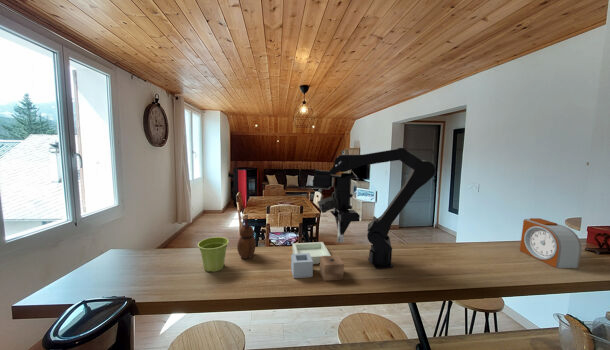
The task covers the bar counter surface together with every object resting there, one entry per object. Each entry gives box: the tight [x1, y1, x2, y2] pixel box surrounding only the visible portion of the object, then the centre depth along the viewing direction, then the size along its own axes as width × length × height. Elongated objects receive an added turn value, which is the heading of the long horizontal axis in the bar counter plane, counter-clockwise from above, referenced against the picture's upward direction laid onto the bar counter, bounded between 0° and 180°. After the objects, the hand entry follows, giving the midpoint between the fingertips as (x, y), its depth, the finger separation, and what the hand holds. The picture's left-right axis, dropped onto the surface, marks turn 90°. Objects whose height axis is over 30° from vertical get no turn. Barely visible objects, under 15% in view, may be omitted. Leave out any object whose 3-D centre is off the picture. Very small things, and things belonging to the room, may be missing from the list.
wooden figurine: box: [236, 217, 257, 259], centre depth 87 cm, size 7×6×15 cm
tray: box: [291, 241, 332, 265], centre depth 88 cm, size 12×12×3 cm
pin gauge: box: [336, 220, 345, 244], centre depth 86 cm, size 2×2×9 cm
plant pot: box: [197, 236, 230, 273], centre depth 79 cm, size 9×9×9 cm
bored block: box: [290, 253, 314, 279], centre depth 77 cm, size 6×6×5 cm
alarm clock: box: [519, 217, 582, 269], centre depth 89 cm, size 15×8×14 cm, turn 2°
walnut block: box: [319, 254, 345, 282], centre depth 76 cm, size 6×6×5 cm
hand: (340, 233), depth 86 cm, fingers closed on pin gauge, 2 cm apart
